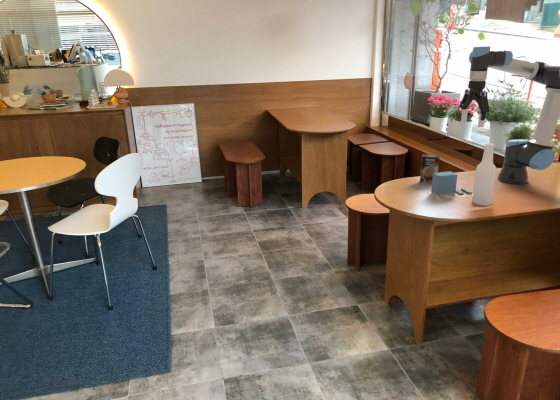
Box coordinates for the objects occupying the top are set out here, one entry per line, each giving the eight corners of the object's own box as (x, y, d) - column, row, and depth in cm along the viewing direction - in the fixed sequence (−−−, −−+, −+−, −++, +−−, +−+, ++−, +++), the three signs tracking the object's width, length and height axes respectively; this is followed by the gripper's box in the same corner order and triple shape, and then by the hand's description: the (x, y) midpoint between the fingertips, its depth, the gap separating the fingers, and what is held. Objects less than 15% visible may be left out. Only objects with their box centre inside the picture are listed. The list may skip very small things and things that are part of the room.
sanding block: (448, 191, 234) (450, 171, 230) (455, 195, 228) (457, 174, 225) (430, 193, 232) (432, 173, 228) (437, 197, 226) (439, 176, 223)
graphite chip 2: (464, 189, 236) (464, 187, 236) (472, 193, 230) (472, 192, 230) (460, 190, 236) (460, 188, 236) (468, 194, 229) (469, 192, 229)
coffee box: (419, 184, 250) (421, 156, 245) (419, 181, 256) (422, 153, 251) (436, 185, 247) (439, 157, 242) (436, 182, 253) (439, 154, 248)
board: (464, 190, 239) (464, 188, 239) (478, 197, 228) (478, 195, 228) (426, 193, 235) (427, 191, 235) (439, 201, 224) (439, 199, 224)
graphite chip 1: (455, 190, 235) (455, 188, 235) (463, 194, 229) (463, 192, 228) (452, 190, 235) (452, 189, 235) (460, 195, 228) (460, 193, 228)
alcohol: (469, 201, 223) (476, 141, 213) (487, 201, 222) (496, 141, 212) (474, 207, 215) (483, 145, 205) (494, 207, 214) (503, 145, 204)
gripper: (455, 78, 224) (450, 121, 231) (487, 82, 201) (481, 129, 209) (468, 77, 226) (463, 120, 233) (502, 81, 203) (495, 128, 210)
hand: (471, 124), depth 221 cm, fingers open, 13 cm apart
